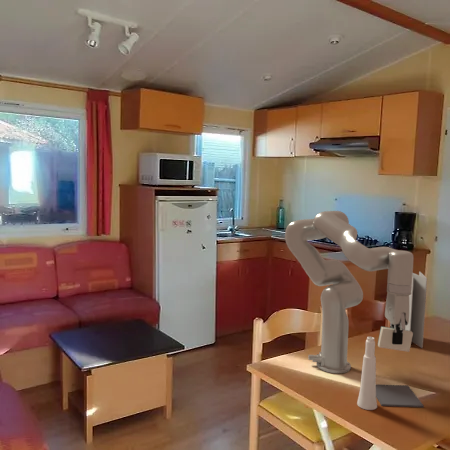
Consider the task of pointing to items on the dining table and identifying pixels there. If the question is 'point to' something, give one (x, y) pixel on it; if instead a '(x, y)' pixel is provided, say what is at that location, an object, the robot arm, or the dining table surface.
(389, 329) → the tile
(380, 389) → the mat
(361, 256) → the robot arm
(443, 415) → the dining table surface
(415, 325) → the brochure
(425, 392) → the dining table surface
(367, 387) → the cosmetic bottle
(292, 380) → the dining table surface
